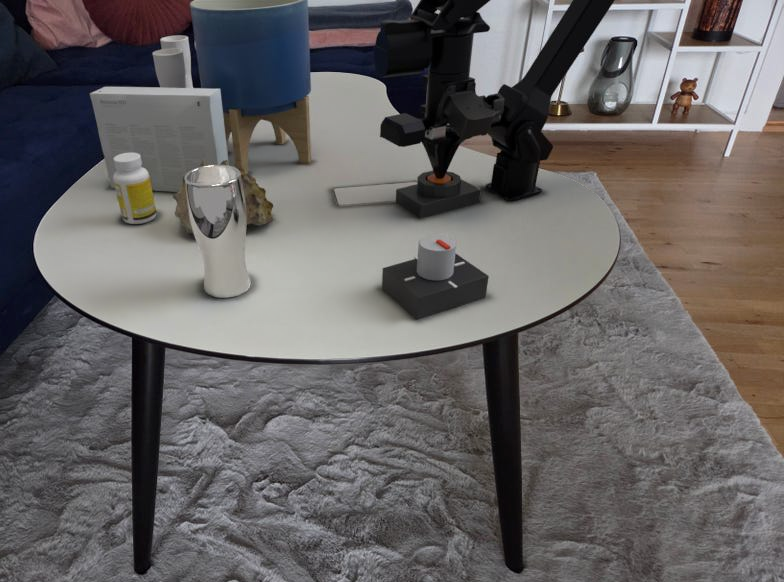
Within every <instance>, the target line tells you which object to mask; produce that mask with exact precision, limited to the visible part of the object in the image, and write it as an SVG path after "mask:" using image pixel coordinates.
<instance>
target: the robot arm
mask: <svg viewBox="0 0 784 582" xmlns="http://www.w3.org/2000/svg"><path fill="white" fill-rule="evenodd" d="M615 1H616V0H572V1H571V2H570V4H569V5H568V7H567V9H566V11H565V12H564V13H563V15H562V17H561V18H560V20H559V21H558V23H557V24H556V26H555V27H554V29H553V31H552V33H551V34H550V35H549V37H548V39H547V40H546V41H545V43H544V45H543V46H542V48H541V50H540V51H539V53H538V55H537V56H536V58H534V61H533V62H532V64H531V65H530V67H529V69H528V70H527V72H526V73H525V75H524V76H523V78H522V79H521V80H520V81H518V82H517V83H515V84H514V85H513V86H509V85H507V84H505V83H504V84H502V85H501V86H500V87H499V89H498V91H497V93H492V94H488V95H487V96H486V95H478V94H477V92H476V91H477V90H476V86H477V83H476V78H474V77H471V76H470V73H471V65H472V64H471V63H472V55H473V45H474V36H475V34H481V33H488V32H489V31H490V30H491V26H490V25H489V24H488V23H487V21H485V20H484V19H483V17H482V15H481V13H480V12H479V11H480V9H482V8H483V7H485V6H486V5H487V4H488V3H489V2H491V0H419V2H418V4H417V5H416V7H414V9H413V11H412V13H411V14H410V16H409V19H403V20H392V19H386V20H381V22H380V31H379V32H378V33H377V35H376V38H375V44H374V45H373V61H374V62H373V63H374V67H375V68H374V69H375V71H376V73H377V76H378V77H379V78H380V79H384V78H391V77H399V76H409V75H416V74H418V75H419V74H422V73H423V72H424V71H425V69H427V74H423V75H422V78H421V79H422V80H421V84H424V85H426V98H425V99H426V100H425V104H421V105H420V107H419V110H420V111H419V113H420V114H423V115H424V117H421V118H417V117H415V116H413V115H410V114H408V113H406V112H403V113H399V114H398V113H397V114H394V115H388V116H385V117H384V119H383V120H382V121H381V123H380V127H379V130H380V131H379V133H380V134H379V136H380V138H382V139H384V140H386V141H388V142H390V143H392V144H394V145H396V146H397V147H399V148H400V147H401V148H405V147H411V146H414V145H419V144H422V146H423V148H424V150H425V152H426V155H427V157H428V160H429V162H430V163H429V164H430V166H431V169H432V171H434V174H435V176H436V178H438V179H441V178H444V176H445V174H446V172H447V171H448V170H449V167H450V165H451V163H452V161H453V159H454V157H455V155H456V153H457V151H458V149H459V147H460V145H461V144H462V143H464V142H465V141H466V140H470V139H472V138H473V137H479V136H481V137H483V136H486V135H488V137H490V138H491V142H492V146H493V147H494V148H497V149H499V150H500V152H497V153H496V157H495V158H496V159H495V163H494V164H493V166H492V167H493V168H492V174H491V182H489V183H486V184H485V189H487V190H489V191H491V192H492V193H494V194H496V195H498V196H499V197H502V198H503V199H506V200H507V201H511V202H512V201H516V200H517V201H518V200H520V199H523V198H527V197H531V196H534V195H535V196H536V195H539V194H542V193H543V189H542V188H541V187H539V186H536V185H537V181H538V175H539V169H540V164H541V162H542V161H546V160H548V159H549V157H550V155H551V153H552V151H553V148H554V145H553V144H552V143H551V141H550V140H549V139H548V138H547V137H546V135H545V134H544V133H543V132H542V131H543V129H544V127H545V125H546V123H547V121H548V119H549V113H550V108H551V107H550V106H551V101H552V97H553V94H554V93H555V91H556V90H557V88H558V87H559V86H560V84H561V82H562V81H563V79H564V78H565V76H566V75H567V74H568V72H569V70H570V69H571V67H572V66H573V64H574V63H575V61H576V60H577V59H578V57H579V55H580V54H581V53H582V51H583V49H584V48H585V47H586V45H587V43H588V42H589V40H590V39H591V37H592V35H593V34H594V33H595V31H596V30H597V28H598V27H599V25H600V23H602V21H603V19H604V18H605V16H606V15H607V13H608V12H609V10H610V8H611V7H612V6H613V4H614V2H615ZM437 11H439V13H437Z"/></svg>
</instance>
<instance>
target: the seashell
mask: <svg viewBox="0 0 784 582" xmlns="http://www.w3.org/2000/svg"><path fill="white" fill-rule="evenodd" d="M228 164H229V165H230V162H229V159H228V160H225V161H222V162H221V163H220V164H219V165H228ZM202 166H206V165H205V162H204V161H202V162H201V164H200V166H199V167H202ZM239 170H240V172H241V179H242V184H243V189H244V195H245V201H246V212H247V225H250V224H253V225H256V226H263V225H266V224H268V223H270V221H273V215H272V211H273V208H274V204H273V203H272V202H271V201H269V200H268V199H267V197H266V193H267V190H266V189H265V188H264V187H261V186H259V183H257V179H256V178H255V177H253V175H252V173H247V174H246V173H245V170H244V169H239ZM184 178H185V176H183V184H182V188H181V189H180V190H179V191H178V192H175V193H174V194H173V195H172V198H173V200H175V202H176V205H175V211H174V215H175V217H176V218H178V219H179V222H180V225H182V226H183V228H184V229H185V230H186V232H187V233H188V234H192V235H194V233H193V230H192V227H191V223H190V219H189V214H188V207H187V199H186V186H185V179H184Z"/></svg>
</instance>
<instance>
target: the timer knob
mask: <svg viewBox="0 0 784 582" xmlns="http://www.w3.org/2000/svg"><path fill="white" fill-rule="evenodd" d="M417 244H418V245H417V246H418V247H417V257H418V258H417V273H418V275H419V276H421V277H422V278H425V279H428V280H434V281H439V280H445V279H448V278H450V277H451V276H452V275H453V271H454V262H455V253H456V251H457V240H456V239H455V238H454V237H453V236H450V235H447V234H443V233H429V234H425V235H423V236H420V238H419V240H418V243H417ZM456 254H457V253H456Z"/></svg>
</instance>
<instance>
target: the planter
mask: <svg viewBox="0 0 784 582" xmlns="http://www.w3.org/2000/svg"><path fill="white" fill-rule="evenodd" d="M189 8H190V15H191V23H192V30H193V36H194V43H195V51H196V58H197V65H198V73H199V80H200V86H201V87H200V88H205V89H220V91H221V100H222V109H223V118H224V127H225V135H226V145H227V153H228V154H229V148H228V146H229V140H230V136H231V139H232V148H233V158H234V165H235V166H234V167H236V168H238V169H244V170H245V173H246V174H249V170H248V156H249V148H250V144H251V139H252V136H253V133H254V130H255V128H256V126H257V125H258V124H259V122H260V121H261V120H262V121H266V122H269V123H271V127H272V128H273V132H274V137H275V144H276V145H284V144H285V143H286V142H287V136H288V137H289V139H290V140H291V141H292V143H293V145H294V148H295V151H296V152H297V156H298V163H299V164H304V165H305V164H306V165H308V164H310V163H311V162H312V148H311V147H312V146H311V145H312V144H311V121H310V120H311V119H310V98H309V95H310V94H311V91H312V79H311V52H310V51H311V50H310V49H311V48H310V28H309V27H310V25H309V24H310V23H309V22H310V21H309V0H192V1H190V3H189ZM286 135H287V136H286Z"/></svg>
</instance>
